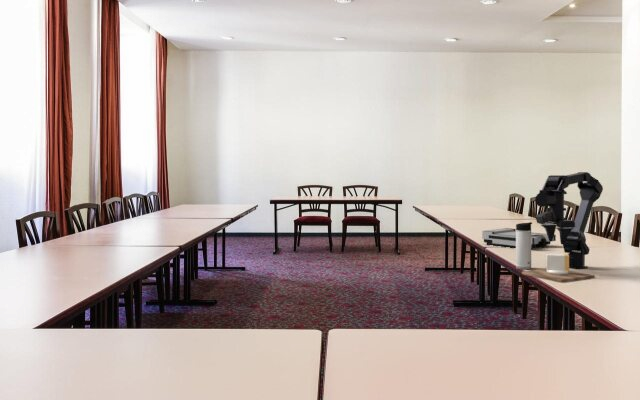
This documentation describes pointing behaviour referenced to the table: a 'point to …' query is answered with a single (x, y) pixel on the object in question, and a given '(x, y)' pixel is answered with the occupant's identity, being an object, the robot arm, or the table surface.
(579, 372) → the table surface
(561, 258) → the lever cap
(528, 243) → the travel mug
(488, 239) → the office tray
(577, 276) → the base plate
